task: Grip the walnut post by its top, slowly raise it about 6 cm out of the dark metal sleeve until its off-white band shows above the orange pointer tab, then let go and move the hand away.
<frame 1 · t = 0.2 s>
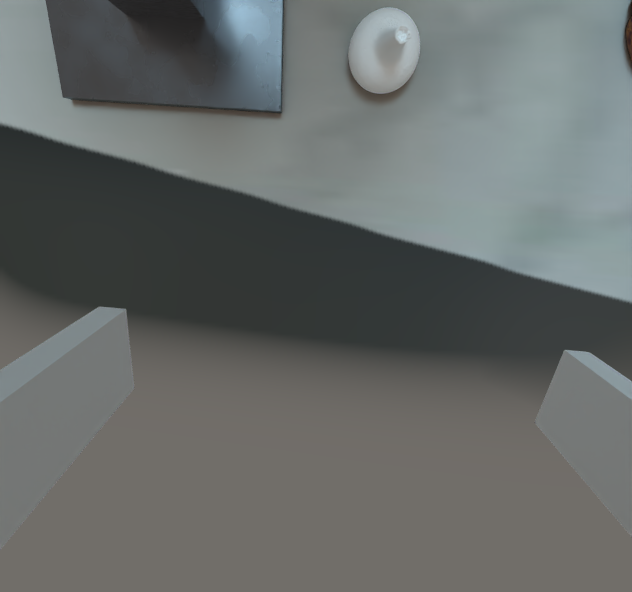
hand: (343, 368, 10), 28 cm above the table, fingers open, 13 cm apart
garlic bulb: (380, 59, 31), on the table
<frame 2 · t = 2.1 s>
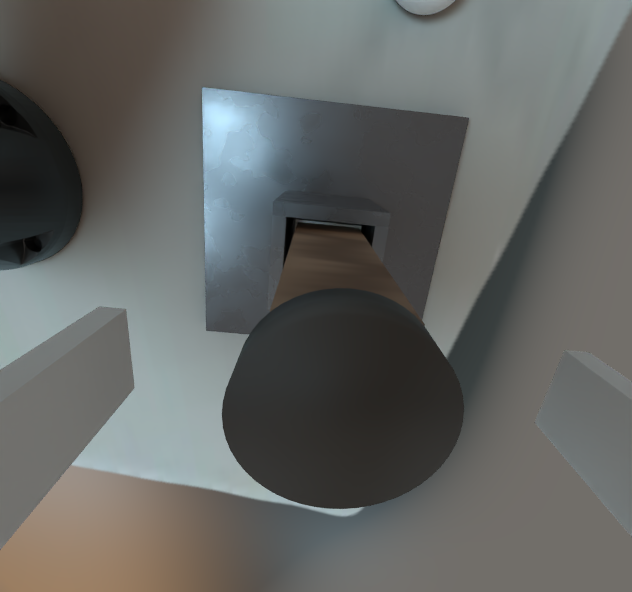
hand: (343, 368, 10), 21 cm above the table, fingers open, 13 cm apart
sleeve stand: (322, 233, 30), on the table
post: (327, 278, 18), point 13 cm above the table, slide at 0.0 cm
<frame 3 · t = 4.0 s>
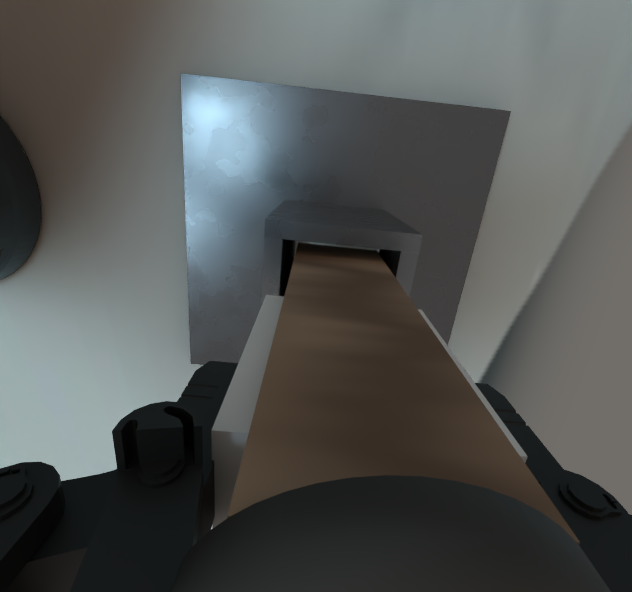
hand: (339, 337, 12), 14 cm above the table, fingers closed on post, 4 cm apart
sleeve stand: (328, 250, 25), on the table
post: (338, 326, 13), point 13 cm above the table, slide at 0.0 cm, touching gripper
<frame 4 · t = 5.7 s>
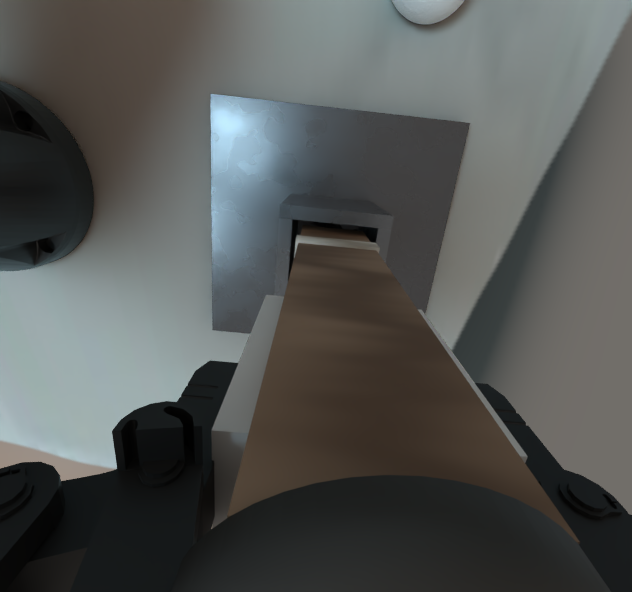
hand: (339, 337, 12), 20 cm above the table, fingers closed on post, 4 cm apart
sleeve stand: (326, 235, 31), on the table
post: (338, 326, 13), point 19 cm above the table, slide at 6.0 cm, touching gripper
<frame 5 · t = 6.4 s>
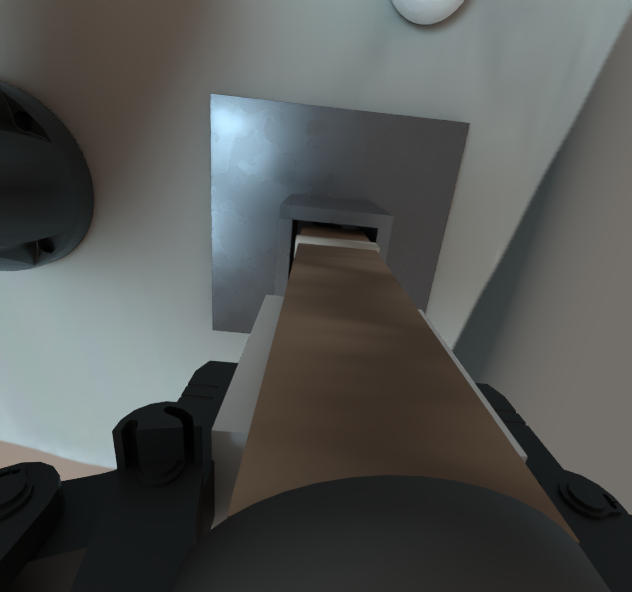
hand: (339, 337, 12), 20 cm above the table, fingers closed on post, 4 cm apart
sleeve stand: (326, 235, 31), on the table
post: (338, 326, 13), point 19 cm above the table, slide at 6.0 cm, touching gripper
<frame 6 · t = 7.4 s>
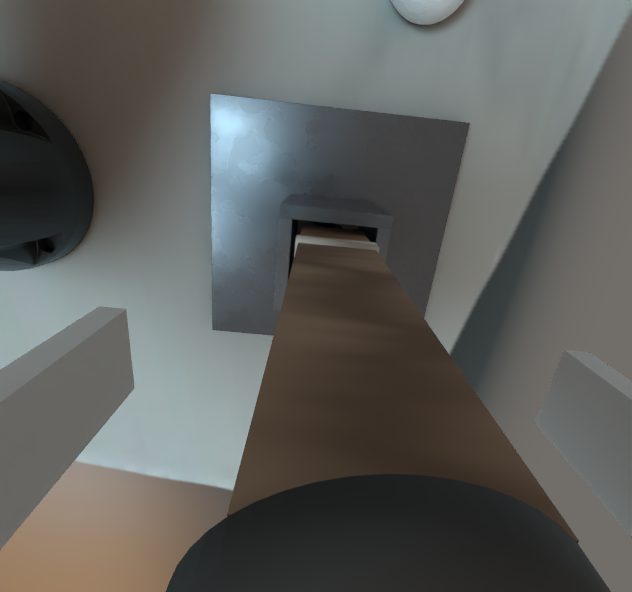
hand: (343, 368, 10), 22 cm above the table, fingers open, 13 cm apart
sleeve stand: (326, 235, 31), on the table
post: (338, 326, 13), point 19 cm above the table, slide at 6.0 cm
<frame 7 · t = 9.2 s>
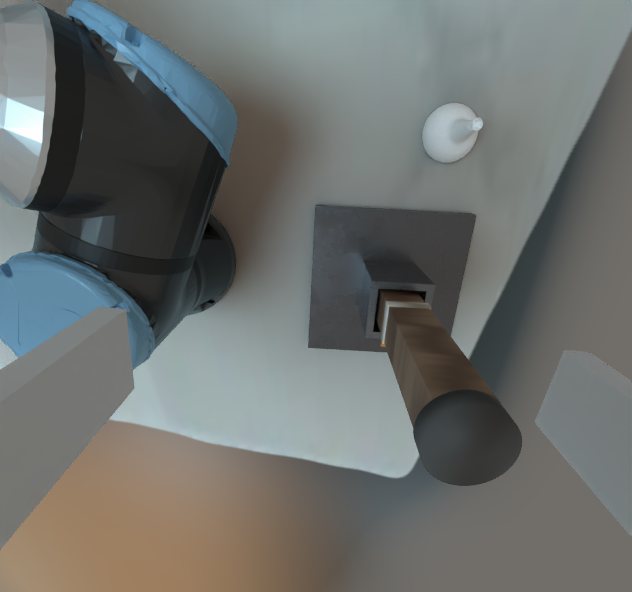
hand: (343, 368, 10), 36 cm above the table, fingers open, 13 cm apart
garlic bulb: (444, 135, 41), on the table
sleeve stand: (384, 283, 47), on the table
post: (420, 352, 29), point 19 cm above the table, slide at 6.0 cm
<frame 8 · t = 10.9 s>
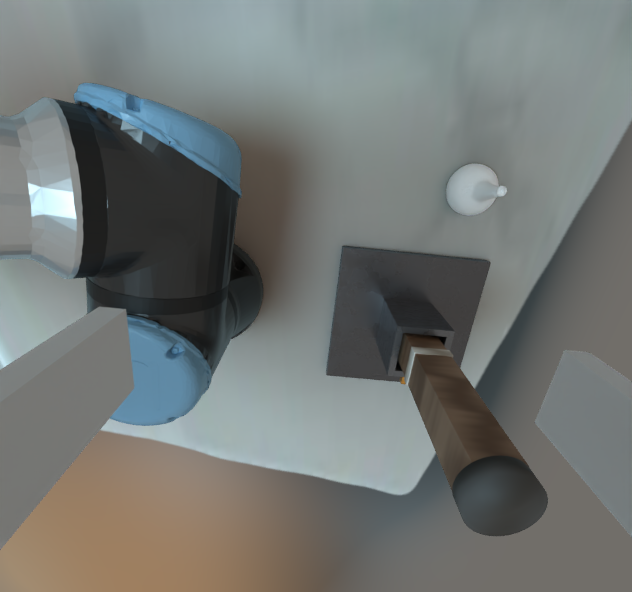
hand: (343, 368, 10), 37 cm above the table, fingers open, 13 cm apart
garlic bulb: (465, 189, 44), on the table
sleeve stand: (401, 319, 50), on the table
post: (446, 401, 32), point 19 cm above the table, slide at 6.0 cm
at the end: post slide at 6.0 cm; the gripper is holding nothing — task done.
